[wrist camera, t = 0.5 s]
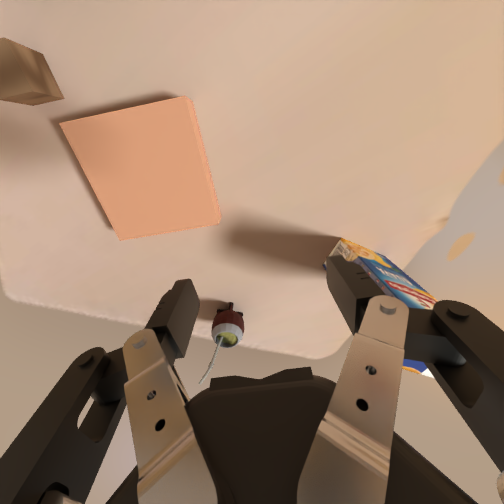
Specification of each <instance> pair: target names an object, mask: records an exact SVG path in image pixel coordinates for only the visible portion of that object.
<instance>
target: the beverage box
mask: <svg viewBox="0 0 504 504" xmlns="http://www.w3.org/2000/svg"><path fill="white" fill-rule="evenodd" d="M340 254H341V255H342V256H343V257H344V258H345V260H346V261H347V262H354V263H356V264H358V265H360V266H361V267H362V268H363V269H364V270H365V271H366V273H367V274H368V275H369V276H370V278H372V279H373V280H374V282H375V283H376V284H377V285H378V286H379V287H380V288H381V290H382V291H383V292H384V293H385V294H386V295H387V296H391V297H395V298H397V299H399V300H401V301H402V302H404V303H405V304H406V305H407V307H411V308H420V309H431V310H432V309H433V306H434V304H435V303H436V302H438V301H437V300H436V299H435V298H434V297H433V296H431V295H430V294H429V293H428V292H427V291H425V290H424V289H423V288H422V287H421V286H420V285H418V284H417V283H416V282H415V281H414V280H412V279H411V278H410V277H409V276H408V275H406V274H405V273H404V272H403V271H402V270H401V269H399V268H398V267H397V266H396V265H395V264H393V263H392V262H391V261H390V260H389V259H388V258H386V257H385V256H383V255H381V254H378V253H376V252H374V251H371V250H369V249H367V248H364V247H362V246H360V245H357V244H355V243H352V242H350V241H348V240H345V239H343V238H341V239H340V240H339V242H338V243H337V245H336V246H335V247H334V249H333V250H332V252H331V253H330V255H329V256H334V255H340ZM323 266H324V268H325V270H326V261H325V262H324V264H323ZM402 369H405V370H408V371H411V372H415V373H418V374H421V375H425V376H428V377H431V378H434V376H433V375H432V374H431V372H430V371H429V369H428V368H427V367H426V365H425V364H424V362H420V361H414V360H408V359H403V366H402ZM434 379H435V378H434Z"/></svg>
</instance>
